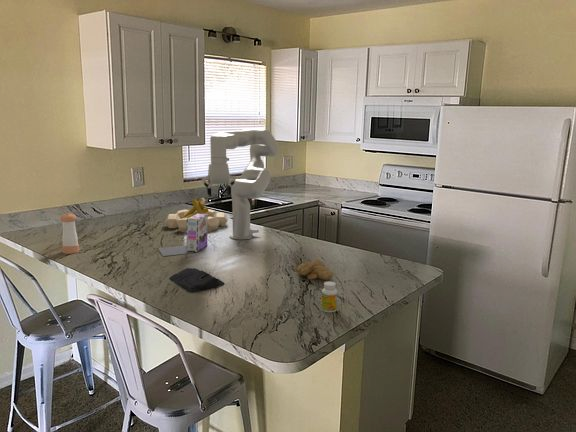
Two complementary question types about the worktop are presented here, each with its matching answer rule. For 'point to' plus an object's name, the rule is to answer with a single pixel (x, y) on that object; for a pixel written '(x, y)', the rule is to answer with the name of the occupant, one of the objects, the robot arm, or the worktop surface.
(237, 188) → the robot arm
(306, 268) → the ginger root
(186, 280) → the dark slate chunk
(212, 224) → the campfire
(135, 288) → the worktop surface
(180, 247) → the mat
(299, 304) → the worktop surface
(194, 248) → the candy box
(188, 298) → the worktop surface
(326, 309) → the supplement bottle
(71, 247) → the salt shaker
